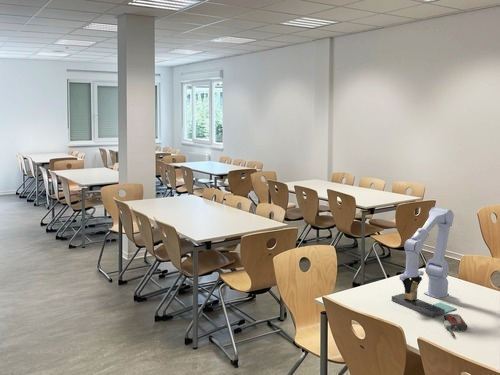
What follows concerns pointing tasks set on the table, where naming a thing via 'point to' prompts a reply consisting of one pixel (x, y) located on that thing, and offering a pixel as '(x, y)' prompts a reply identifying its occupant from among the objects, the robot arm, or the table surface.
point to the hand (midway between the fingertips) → (410, 292)
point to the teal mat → (445, 307)
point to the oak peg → (412, 292)
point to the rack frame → (419, 306)
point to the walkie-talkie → (454, 323)
